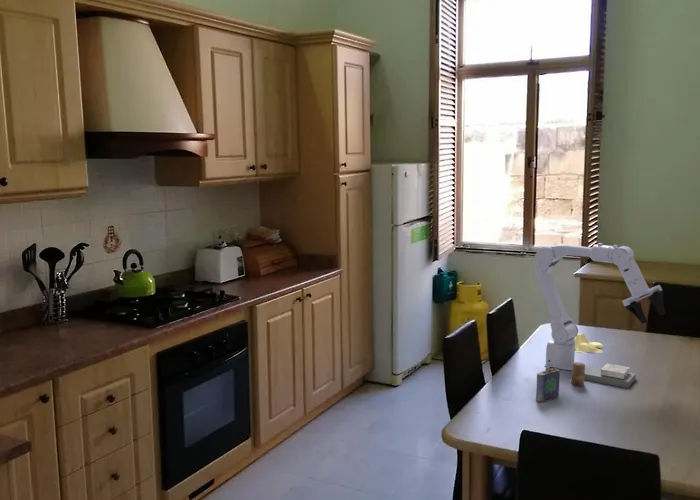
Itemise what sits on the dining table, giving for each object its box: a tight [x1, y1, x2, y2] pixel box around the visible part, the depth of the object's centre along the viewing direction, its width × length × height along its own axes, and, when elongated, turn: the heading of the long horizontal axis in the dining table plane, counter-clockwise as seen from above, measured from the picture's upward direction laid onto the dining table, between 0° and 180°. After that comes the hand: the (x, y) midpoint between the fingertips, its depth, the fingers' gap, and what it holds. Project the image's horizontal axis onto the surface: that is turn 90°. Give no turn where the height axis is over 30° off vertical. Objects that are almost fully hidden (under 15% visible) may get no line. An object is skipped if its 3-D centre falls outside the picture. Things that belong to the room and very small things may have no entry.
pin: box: [571, 362, 586, 388], centre depth 223 cm, size 4×4×7 cm
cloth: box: [575, 332, 604, 355], centre depth 263 cm, size 22×19×6 cm
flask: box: [535, 365, 561, 403], centre depth 210 cm, size 9×3×11 cm, turn 121°
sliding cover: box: [600, 363, 631, 379], centre depth 226 cm, size 8×8×2 cm
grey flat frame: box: [584, 364, 637, 389], centre depth 229 cm, size 18×10×2 cm, turn 54°
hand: (653, 318), depth 220 cm, fingers open, 7 cm apart
